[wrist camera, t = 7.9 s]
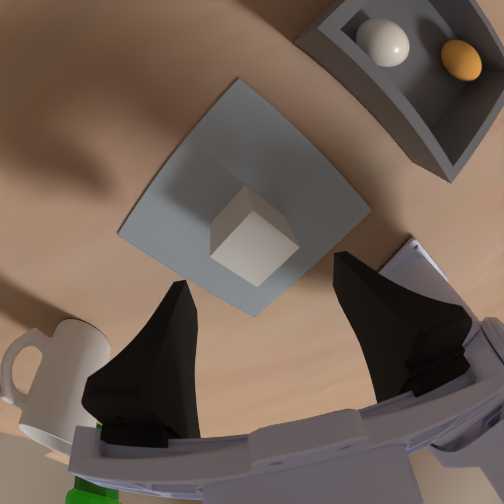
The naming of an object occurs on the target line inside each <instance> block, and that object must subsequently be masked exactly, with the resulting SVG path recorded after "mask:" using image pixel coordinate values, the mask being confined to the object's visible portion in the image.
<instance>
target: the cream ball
mask: <svg viewBox="0 0 504 504" xmlns="http://www.w3.org/2000/svg"><path fill="white" fill-rule="evenodd" d="M356 43H357V45H358V46H359V47H360V48H361V49H362V50H363V51H364V52H365V53H366V54H367V55H368V56H369V57H370V58H371V59H372V60H373V61H374V62H375V63H376V64H377V65H379V66H383V67H392V66H396V65H399V64H400V63H402V62H403V61H404V60H405V59H406V58H407V56H408V53H409V48H410V46H409V40H408V38H407V35H406V34H405V32H404V31H403V30H402V29H401V28H400V27H399V26H398V25H397V24H395V23H394V22H392V21H390V20H387V19H383V18H373V19H369V20H367V21H365V22H364V23H362V24H361V25H360V27H359V28H358V30H357V33H356Z"/></svg>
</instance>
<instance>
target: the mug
mask: <svg viewBox="0 0 504 504" xmlns="http://www.w3.org/2000/svg"><path fill="white" fill-rule="evenodd" d="M27 346H35V347H37V348H38V349H39V350H40V351H41V352H42V355H43V357H42V360H41V363H40V365H39V368H38V370H37V372H36V375H35V377H34V380H33V383H32V385H31V388H30V390H29V393H28V395H24V394H22V393H21V392H19V391H18V390H17V389H16V387H15V385H14V383H13V379H12V365H13V362H14V360H15V358H16V356H17V355H18V353H19V352H20V351H21V350H22V349H23V348H25V347H27ZM109 355H110V344H109V342H108V340H107V338H106V337H105V336H104V335H103V334H102V333H101V332H100V331H99V330H98V329H96V328H95V327H93V326H92V325H90V324H88V323H86V322H83V321H80V320H76V319H66V320H63V321H61V322H60V323H59V324H58V326H57V328H56V330H55V332H54V334H53V336H52V337H48V336H46V335H44V334H43V333H42V332H41V331H40V330H39V329H37V328H32V329H31V330H29V331H28V332H26V333H25V334H23V335H22V336H20V337H19V338H18V339H16V340H15V341H14V342H13V343H12V344H11V345H10V346H9V347H8V349H7V350H6V352H5V354H4V356H3V359H2V363H1V371H0V379H1V395H0V398H1V399H2V400H4V401H6V402H7V403H9V404H10V405H14V404H16V405H18V406H19V407H20V408H21V410H22V414H21V418H20V421H19V423H18V427H19V428H20V429H21V430H22V431H23V432H24V433H25V434H26V435H28V436H29V437H31V438H32V439H34V440H35V441H37V442H39V443H40V444H42V445H44V446H46V447H48V448H50V449H53V450H55V451H57V452H60V453H62V454H65V455H68V456H70V454H71V448H72V443H73V438H74V432H75V428H76V426H77V425H79V426H86V427H93V428H96V422H97V419H95V418H94V417H93V416H92V415H90V414H89V413H88V412H87V411H86V410H85V409H84V408H83V406H82V404H81V399H82V395H83V392H84V388H85V384H86V381H87V377H89V376H90V375H92V374H93V373H95V372H96V371H97V370H99V369H100V368H102V367H103V366H105V365H106V364H107V363H108V360H109Z"/></svg>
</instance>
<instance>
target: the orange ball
mask: <svg viewBox="0 0 504 504" xmlns="http://www.w3.org/2000/svg"><path fill="white" fill-rule="evenodd" d="M441 59H442V63H443V65H444V67H445V68H446V70H447V71H448V72H449V73H450V74H451V75H452V76H453V77H455V78H457V79H459V80H462V81H472V80H474V79H476V78H477V77H478V76H479V74H480V72H481V68H482V64H481V59H480V57H479V55H478V53H477V52H476V50H475V49H474V48H473V47H472V46H471V45H469V44H468V43H466V42H464V41H461V40H450V41H448V42H447V43H445V44H444V46H443V48H442V50H441Z"/></svg>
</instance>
